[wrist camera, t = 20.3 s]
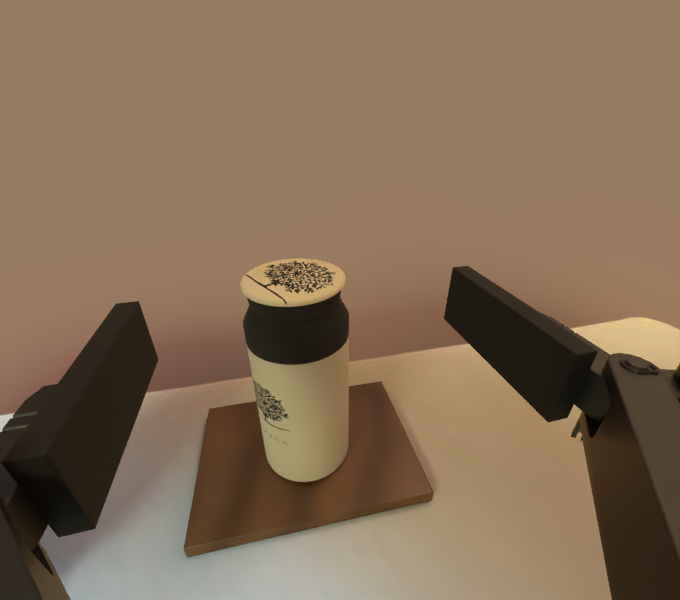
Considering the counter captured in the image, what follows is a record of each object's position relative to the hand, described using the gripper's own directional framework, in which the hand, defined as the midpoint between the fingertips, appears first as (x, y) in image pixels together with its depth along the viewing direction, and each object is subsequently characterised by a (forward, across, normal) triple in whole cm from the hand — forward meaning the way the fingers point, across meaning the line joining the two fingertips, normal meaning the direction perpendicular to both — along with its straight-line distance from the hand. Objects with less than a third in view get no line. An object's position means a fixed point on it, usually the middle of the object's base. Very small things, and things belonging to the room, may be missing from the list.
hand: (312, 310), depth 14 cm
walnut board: (+10, 0, -22) cm, 24 cm away
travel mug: (+9, 0, -21) cm, 23 cm away
